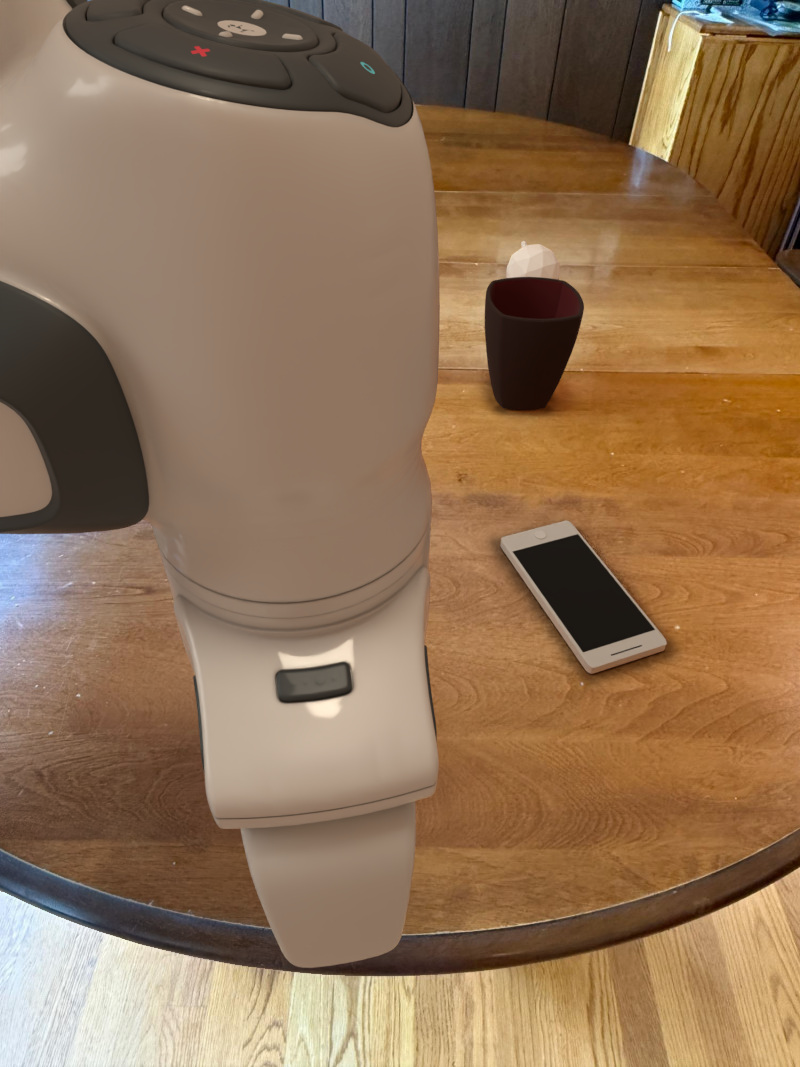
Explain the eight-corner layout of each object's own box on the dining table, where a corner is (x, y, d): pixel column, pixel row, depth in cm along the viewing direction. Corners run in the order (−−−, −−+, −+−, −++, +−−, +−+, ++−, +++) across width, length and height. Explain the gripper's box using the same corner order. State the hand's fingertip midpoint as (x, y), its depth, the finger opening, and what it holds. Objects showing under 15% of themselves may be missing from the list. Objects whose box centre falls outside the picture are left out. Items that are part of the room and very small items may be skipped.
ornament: (509, 310, 103) (490, 250, 101) (523, 307, 109) (506, 251, 108) (559, 291, 99) (541, 229, 98) (571, 289, 106) (554, 231, 104)
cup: (481, 422, 84) (492, 320, 76) (468, 357, 94) (476, 260, 86) (572, 421, 84) (593, 320, 76) (549, 356, 94) (565, 260, 86)
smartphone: (567, 526, 72) (569, 518, 71) (666, 650, 61) (670, 642, 60) (498, 544, 70) (499, 536, 69) (588, 675, 59) (590, 668, 58)
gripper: (211, 407, 34) (250, 616, 43) (204, 866, 19) (266, 1031, 28) (354, 394, 35) (362, 602, 44) (454, 825, 20) (434, 999, 29)
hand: (325, 774), depth 36 cm, fingers closed
